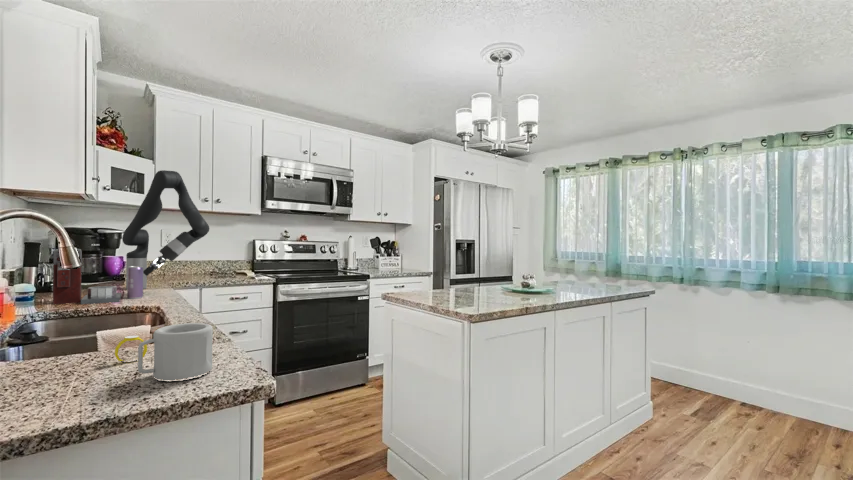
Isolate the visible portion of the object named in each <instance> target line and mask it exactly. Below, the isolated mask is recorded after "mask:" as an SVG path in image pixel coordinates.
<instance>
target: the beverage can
mask: <svg viewBox="0 0 853 480" xmlns="http://www.w3.org/2000/svg"><path fill="white" fill-rule="evenodd" d="M126 290H127V292H126V293H127V294H126V297H127V299H129V300H135V299H136V300H138V299H142V298H143V297H144V289H143V266H130V267H128V278H127V289H126Z"/></svg>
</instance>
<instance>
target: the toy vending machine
mask: <svg viewBox="0 0 853 480" xmlns="http://www.w3.org/2000/svg"><path fill="white" fill-rule="evenodd" d="M70 239H71V241H72V243H73V245H74V246H75V241H74V240H73V239H72V238H70ZM58 249H59V248H56V249H54V250H53V271H52V272H53V276H52V277H53V278H52V280H53V282H52V283H53V284H52V286H53V287H52V294H53V295H52V305H53V304H56V305H67V304H66V303H69V304H81V299H82V266H81V267H80V268H77V269H62V268H61V266H60V260H59V253H58ZM76 249H77V251H78V253H79V256H80V259H81V263H82V257H83V255H82V252H83V251H82V249H81V248H76Z"/></svg>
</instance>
